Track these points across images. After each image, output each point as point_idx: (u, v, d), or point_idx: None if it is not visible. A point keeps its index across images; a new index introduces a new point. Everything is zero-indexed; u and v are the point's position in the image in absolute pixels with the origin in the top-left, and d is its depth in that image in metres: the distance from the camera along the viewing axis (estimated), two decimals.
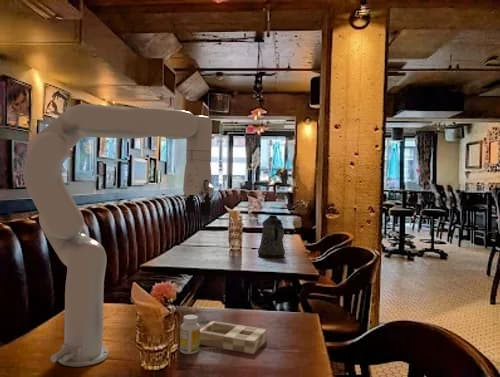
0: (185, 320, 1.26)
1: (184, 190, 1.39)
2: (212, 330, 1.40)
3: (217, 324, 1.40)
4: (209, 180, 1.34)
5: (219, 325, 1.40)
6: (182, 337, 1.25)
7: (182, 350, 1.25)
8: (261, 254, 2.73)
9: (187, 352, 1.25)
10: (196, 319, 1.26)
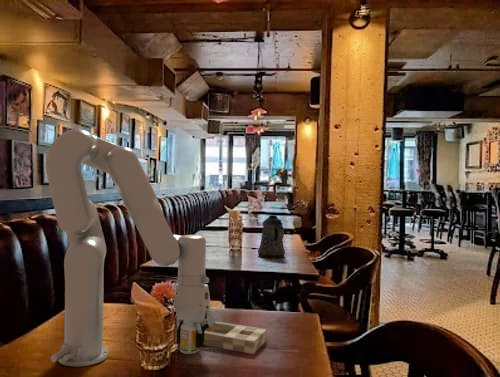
0: None
1: None
2: (212, 330, 1.40)
3: (217, 324, 1.40)
4: None
5: (219, 325, 1.40)
6: (182, 337, 1.25)
7: (182, 350, 1.25)
8: (261, 254, 2.73)
9: (187, 352, 1.25)
10: None
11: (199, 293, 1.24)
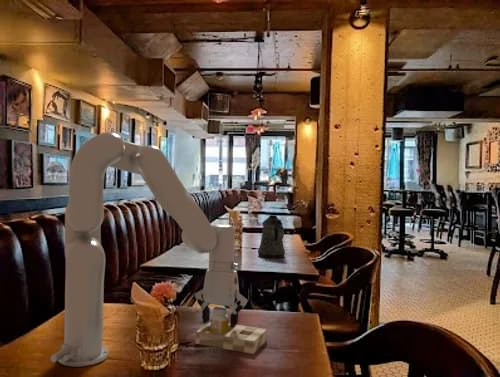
0: (215, 311, 1.34)
1: None
2: None
3: None
4: None
5: None
6: (212, 327, 1.34)
7: None
8: (261, 254, 2.73)
9: None
10: (225, 310, 1.35)
11: (229, 278, 1.32)
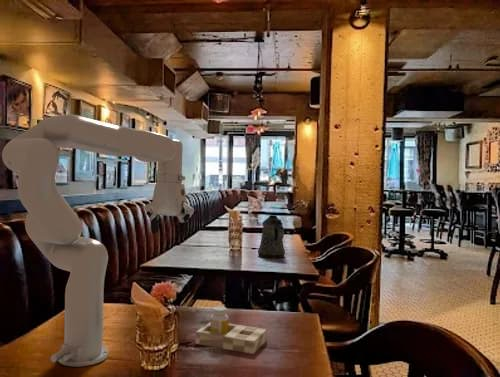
0: (215, 311, 1.34)
1: None
2: None
3: None
4: None
5: None
6: (212, 327, 1.34)
7: None
8: (261, 254, 2.73)
9: None
10: (225, 310, 1.35)
11: (176, 189, 1.39)
